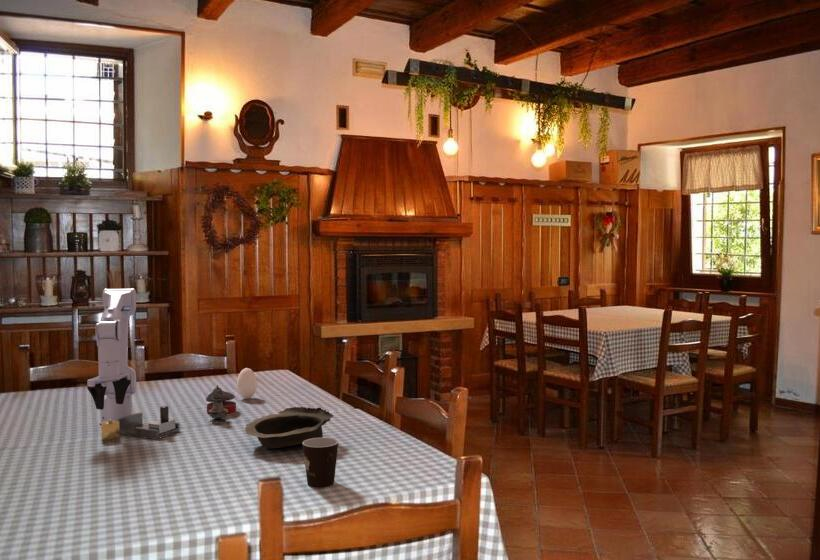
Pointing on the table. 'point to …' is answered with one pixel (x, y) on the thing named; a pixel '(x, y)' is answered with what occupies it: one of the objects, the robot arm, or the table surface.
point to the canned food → (223, 402)
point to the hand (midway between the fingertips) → (109, 406)
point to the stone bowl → (289, 427)
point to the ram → (163, 421)
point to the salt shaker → (217, 407)
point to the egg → (246, 383)
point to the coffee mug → (320, 461)
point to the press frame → (141, 427)
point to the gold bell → (110, 430)
